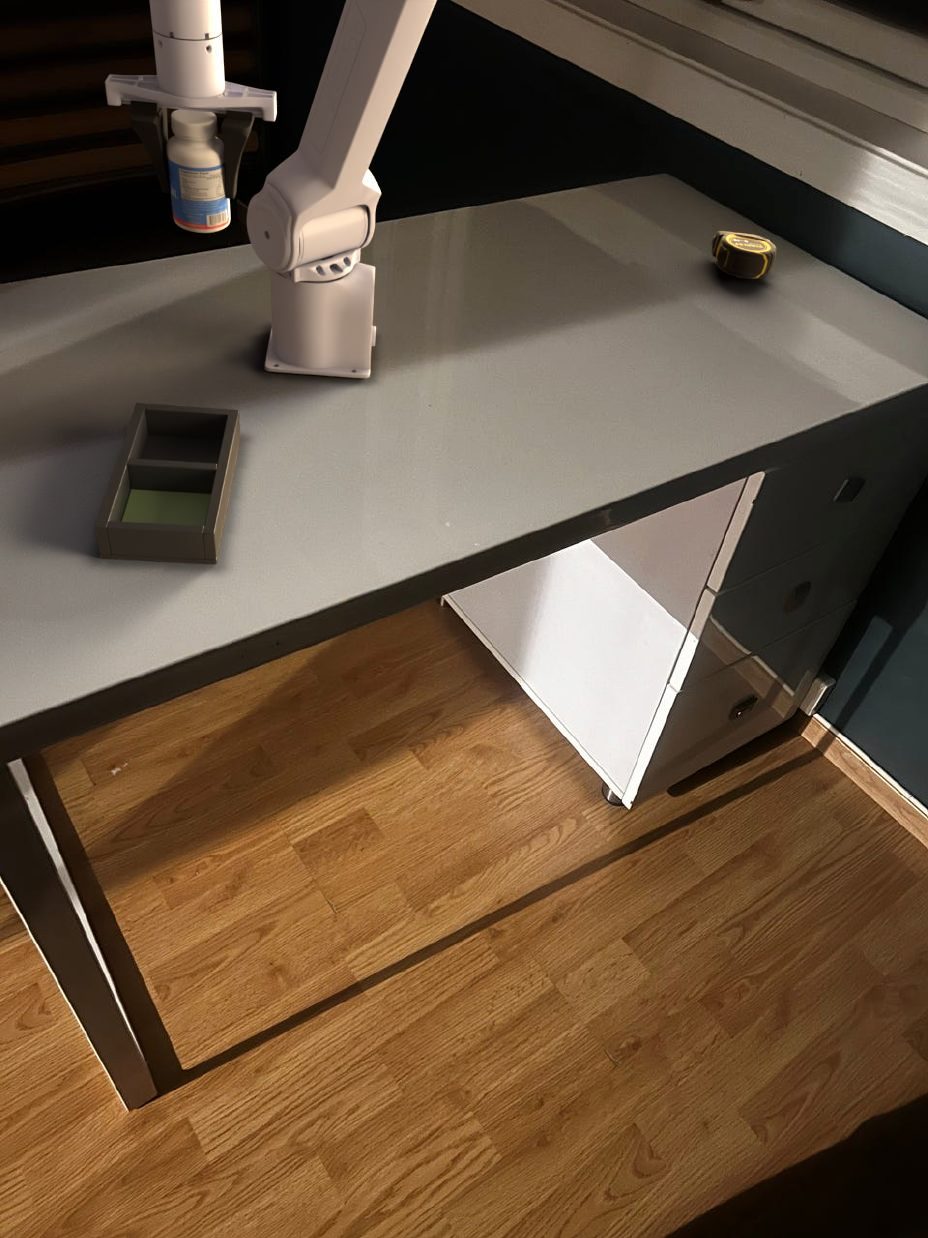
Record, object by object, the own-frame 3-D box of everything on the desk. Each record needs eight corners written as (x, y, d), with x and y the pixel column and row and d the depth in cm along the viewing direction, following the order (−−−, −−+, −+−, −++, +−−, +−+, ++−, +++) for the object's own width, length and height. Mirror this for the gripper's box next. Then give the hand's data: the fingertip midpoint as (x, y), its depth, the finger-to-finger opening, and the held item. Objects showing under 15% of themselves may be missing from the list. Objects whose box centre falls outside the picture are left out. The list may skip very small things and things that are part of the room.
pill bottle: (177, 207, 96) (167, 101, 89) (233, 212, 97) (228, 107, 90) (169, 231, 92) (158, 122, 85) (227, 236, 93) (221, 128, 86)
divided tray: (241, 439, 81) (239, 409, 79) (217, 564, 70) (214, 533, 68) (140, 432, 80) (136, 402, 78) (100, 558, 69) (94, 527, 67)
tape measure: (762, 262, 117) (773, 232, 115) (772, 289, 112) (783, 257, 110) (707, 255, 117) (716, 224, 114) (714, 281, 112) (724, 249, 110)
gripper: (278, 26, 87) (281, 181, 96) (109, 7, 85) (129, 167, 95) (270, 50, 82) (274, 211, 91) (91, 30, 80) (114, 197, 90)
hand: (200, 191), depth 93 cm, fingers closed on pill bottle, 5 cm apart
